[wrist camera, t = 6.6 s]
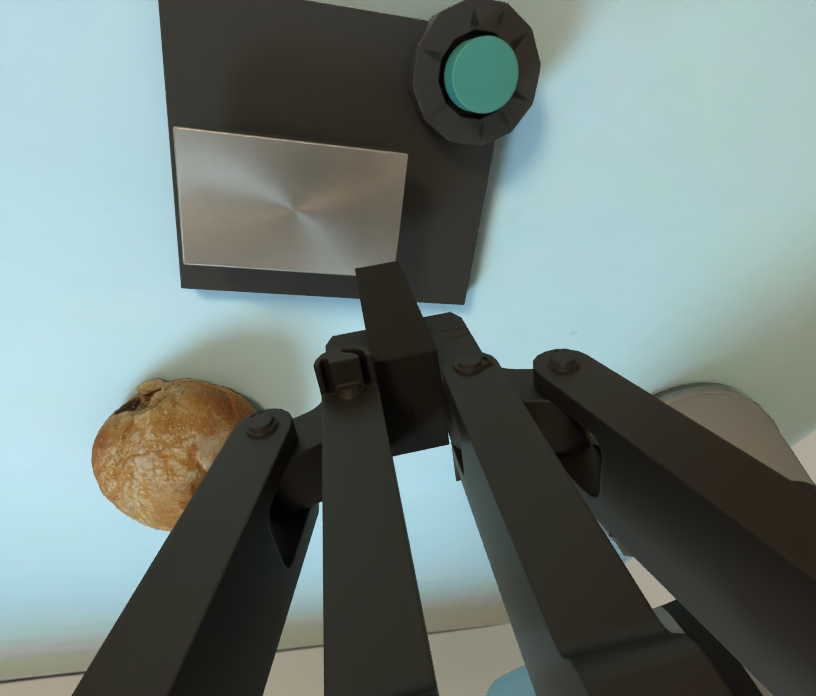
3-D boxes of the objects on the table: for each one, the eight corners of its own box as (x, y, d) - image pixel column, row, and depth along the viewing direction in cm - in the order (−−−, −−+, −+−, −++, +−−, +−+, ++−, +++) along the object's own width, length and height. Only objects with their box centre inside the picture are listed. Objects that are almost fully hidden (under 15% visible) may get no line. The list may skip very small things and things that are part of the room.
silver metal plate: (404, 149, 24) (408, 153, 23) (390, 269, 27) (394, 279, 26) (180, 123, 22) (172, 125, 21) (189, 255, 25) (182, 265, 24)
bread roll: (223, 337, 34) (150, 353, 26) (316, 457, 35) (271, 509, 27) (121, 419, 36) (24, 459, 28) (210, 534, 36) (139, 604, 28)
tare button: (512, 43, 23) (526, 41, 22) (499, 115, 25) (511, 117, 23) (449, 33, 23) (458, 30, 21) (439, 107, 24) (447, 109, 23)
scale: (529, 17, 25) (553, 10, 23) (474, 298, 32) (488, 318, 29) (161, -47, 22) (139, -65, 19) (186, 280, 29) (172, 301, 26)
